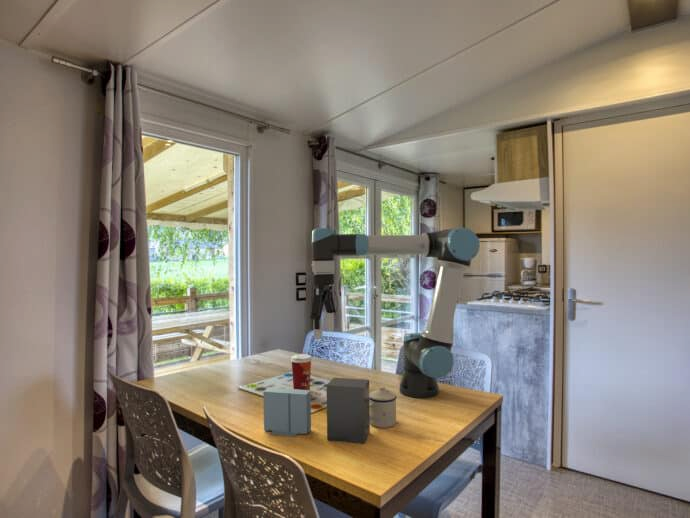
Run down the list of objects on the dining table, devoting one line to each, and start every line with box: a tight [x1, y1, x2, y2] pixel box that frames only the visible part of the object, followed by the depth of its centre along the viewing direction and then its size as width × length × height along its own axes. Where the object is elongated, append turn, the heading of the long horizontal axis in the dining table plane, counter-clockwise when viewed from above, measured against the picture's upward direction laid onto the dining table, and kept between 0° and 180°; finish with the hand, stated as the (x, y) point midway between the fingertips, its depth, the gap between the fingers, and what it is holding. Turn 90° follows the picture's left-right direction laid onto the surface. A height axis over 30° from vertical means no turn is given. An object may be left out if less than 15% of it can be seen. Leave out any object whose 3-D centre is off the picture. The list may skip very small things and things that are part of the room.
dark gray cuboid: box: [323, 377, 371, 445], centre depth 126 cm, size 12×8×16 cm, turn 76°
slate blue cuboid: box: [263, 386, 312, 435], centre depth 130 cm, size 14×4×12 cm, turn 76°
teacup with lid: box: [369, 385, 397, 429], centre depth 134 cm, size 12×9×12 cm
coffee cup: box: [290, 353, 313, 390], centre depth 163 cm, size 8×8×15 cm
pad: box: [270, 431, 299, 438], centre depth 130 cm, size 8×8×1 cm
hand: (324, 334), depth 145 cm, fingers open, 13 cm apart
